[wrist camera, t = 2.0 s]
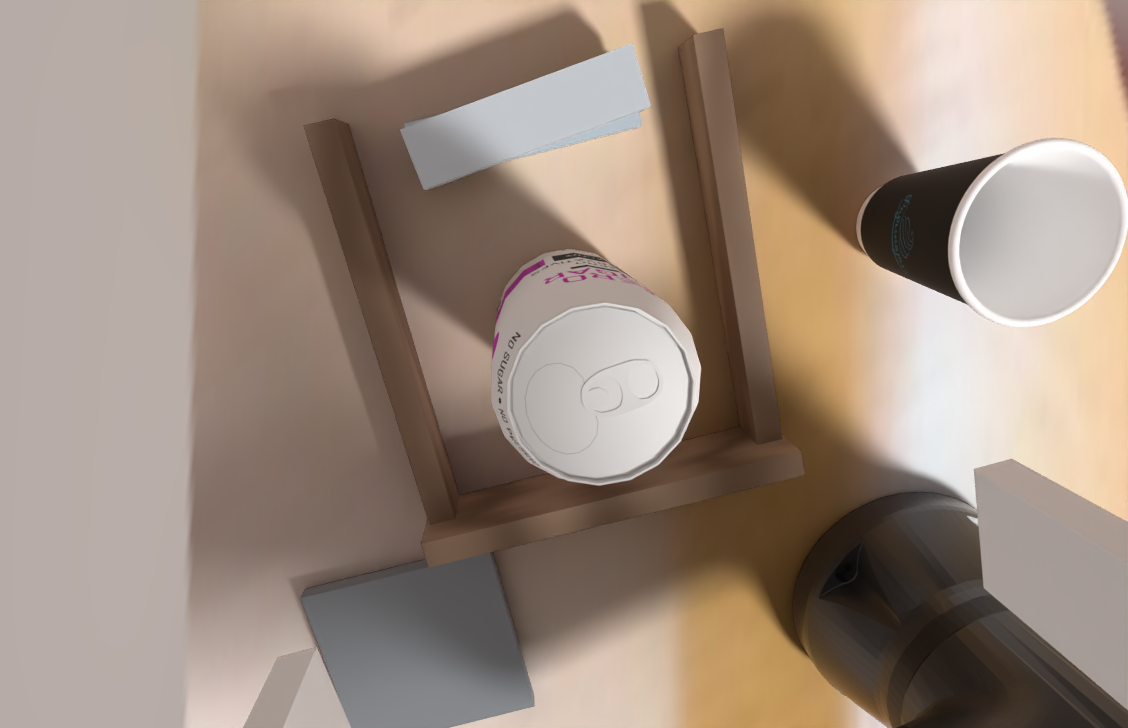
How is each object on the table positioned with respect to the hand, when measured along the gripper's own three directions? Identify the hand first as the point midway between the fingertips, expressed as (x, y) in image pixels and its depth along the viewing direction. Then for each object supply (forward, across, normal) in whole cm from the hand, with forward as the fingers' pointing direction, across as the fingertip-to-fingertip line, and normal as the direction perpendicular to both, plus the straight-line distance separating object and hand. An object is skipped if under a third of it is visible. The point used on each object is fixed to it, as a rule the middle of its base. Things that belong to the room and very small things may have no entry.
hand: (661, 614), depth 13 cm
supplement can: (+27, -1, 0) cm, 27 cm away
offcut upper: (+25, -1, -11) cm, 28 cm away
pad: (+27, +14, +18) cm, 35 cm away
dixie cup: (+27, -21, -1) cm, 34 cm away
